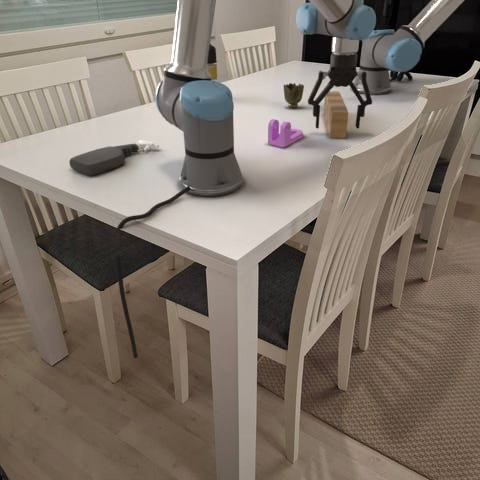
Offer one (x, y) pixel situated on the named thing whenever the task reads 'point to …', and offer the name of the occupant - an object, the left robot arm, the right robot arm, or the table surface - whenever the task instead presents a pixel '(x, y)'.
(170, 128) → the table surface
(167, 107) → the left robot arm
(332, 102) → the bar
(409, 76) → the squiggle
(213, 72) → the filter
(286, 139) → the bracket
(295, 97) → the cup
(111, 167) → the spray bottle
